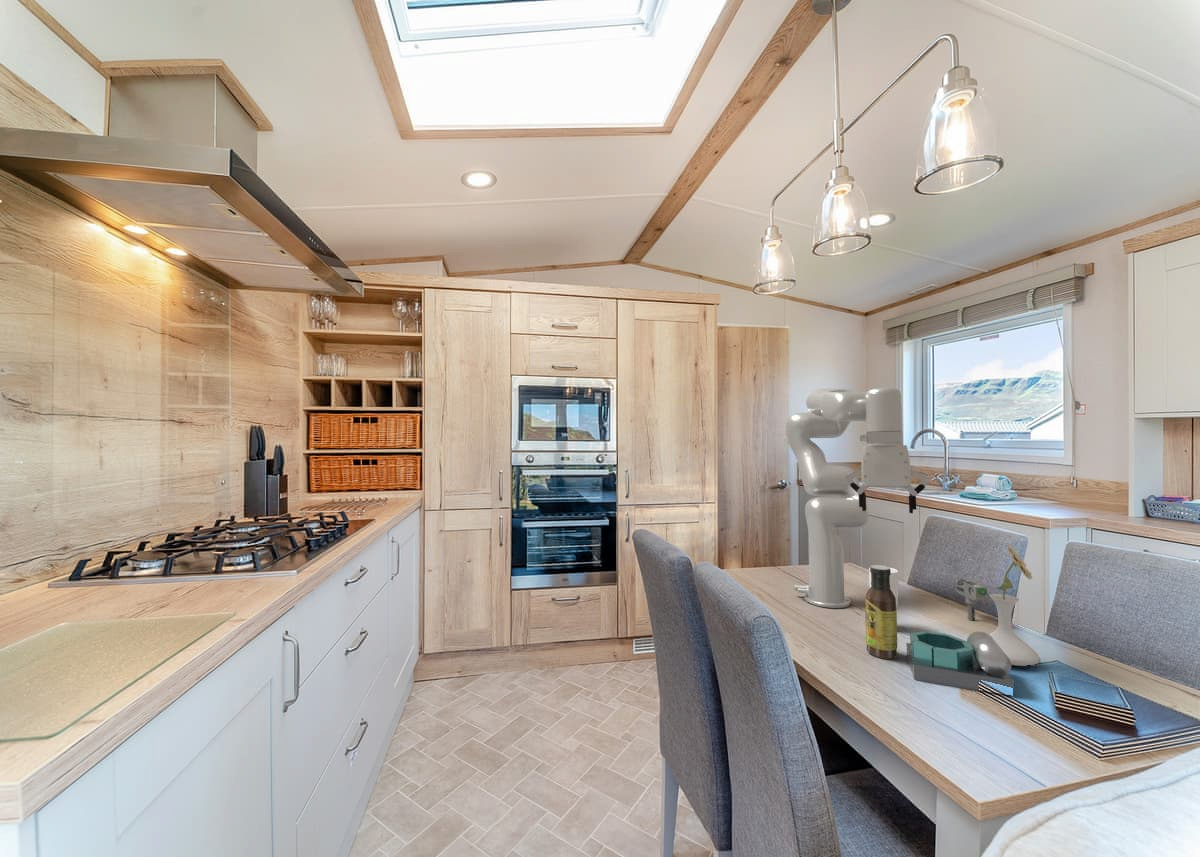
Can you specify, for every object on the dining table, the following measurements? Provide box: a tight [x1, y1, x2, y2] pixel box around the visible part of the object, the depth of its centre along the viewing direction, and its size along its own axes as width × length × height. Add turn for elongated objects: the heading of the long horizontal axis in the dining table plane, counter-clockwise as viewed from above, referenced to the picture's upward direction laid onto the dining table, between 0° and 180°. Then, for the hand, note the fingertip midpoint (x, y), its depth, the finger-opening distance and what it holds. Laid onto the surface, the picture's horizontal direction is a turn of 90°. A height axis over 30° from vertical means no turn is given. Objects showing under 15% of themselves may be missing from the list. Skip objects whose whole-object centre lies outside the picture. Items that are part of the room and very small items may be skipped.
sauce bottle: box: [864, 564, 898, 660], centre depth 112 cm, size 6×6×20 cm
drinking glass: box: [868, 567, 900, 610], centre depth 128 cm, size 7×7×15 cm
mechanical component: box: [955, 578, 988, 621], centre depth 133 cm, size 3×10×10 cm, turn 174°
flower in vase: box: [988, 544, 1041, 667], centre depth 109 cm, size 13×11×25 cm
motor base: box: [906, 630, 1015, 692], centre depth 102 cm, size 16×12×8 cm
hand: (887, 511), depth 116 cm, fingers open, 9 cm apart
